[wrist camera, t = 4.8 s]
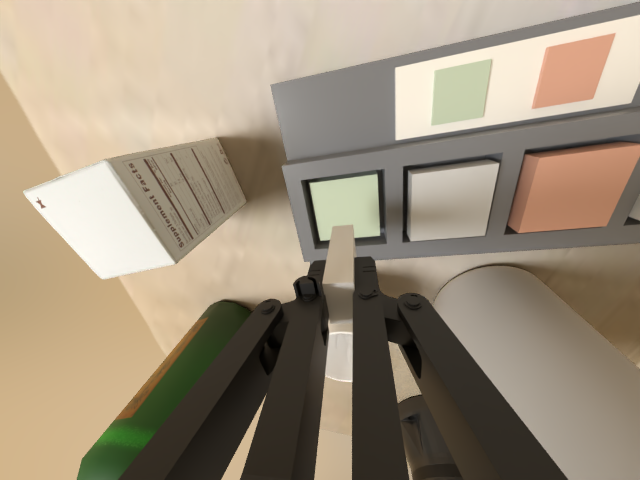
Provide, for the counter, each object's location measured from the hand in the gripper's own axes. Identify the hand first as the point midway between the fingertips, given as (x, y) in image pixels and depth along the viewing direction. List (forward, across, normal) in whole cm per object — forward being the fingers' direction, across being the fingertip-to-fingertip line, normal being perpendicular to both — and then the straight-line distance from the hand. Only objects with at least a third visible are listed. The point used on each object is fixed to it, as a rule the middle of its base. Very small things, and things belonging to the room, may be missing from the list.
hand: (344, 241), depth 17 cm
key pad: (+9, -13, -2) cm, 16 cm away
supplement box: (+9, +15, -4) cm, 18 cm away
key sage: (+7, 0, 0) cm, 7 cm away
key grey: (+5, -9, 0) cm, 10 cm away
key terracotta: (+5, -17, 0) cm, 18 cm away
